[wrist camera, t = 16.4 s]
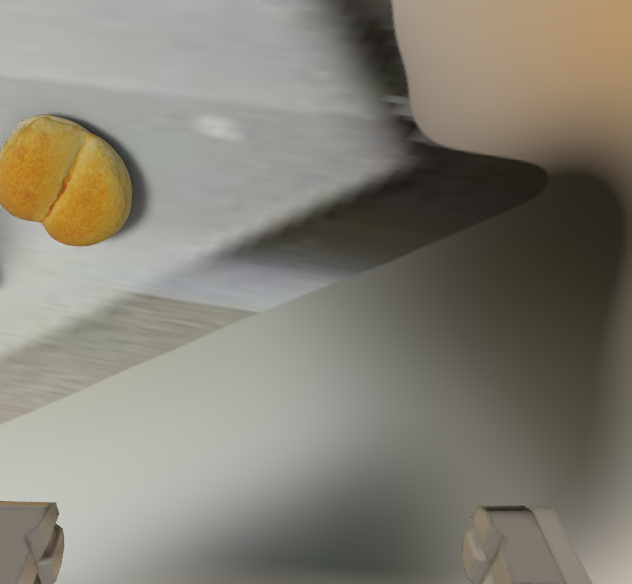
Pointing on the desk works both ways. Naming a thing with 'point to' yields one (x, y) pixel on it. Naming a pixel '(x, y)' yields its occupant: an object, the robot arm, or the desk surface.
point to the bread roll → (64, 180)
